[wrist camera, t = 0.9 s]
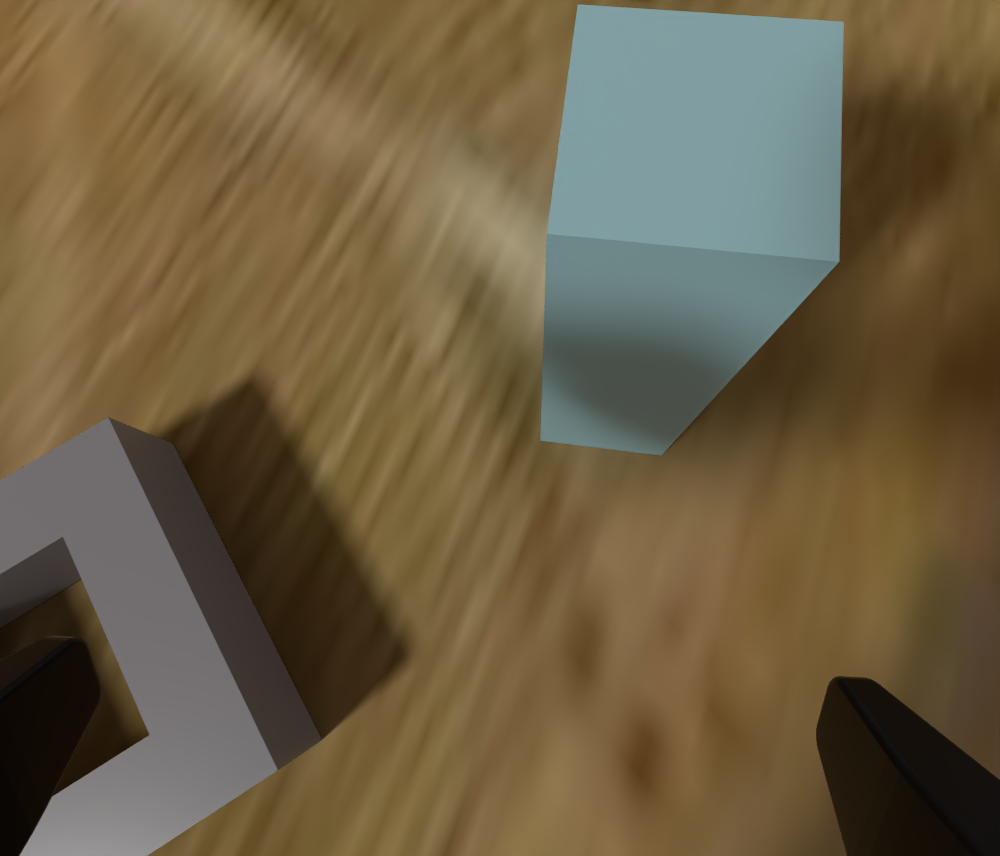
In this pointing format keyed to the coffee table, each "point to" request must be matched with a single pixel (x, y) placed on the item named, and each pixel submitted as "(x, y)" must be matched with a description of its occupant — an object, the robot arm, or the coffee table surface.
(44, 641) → the robot arm
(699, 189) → the peg
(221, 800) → the socket
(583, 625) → the coffee table surface
